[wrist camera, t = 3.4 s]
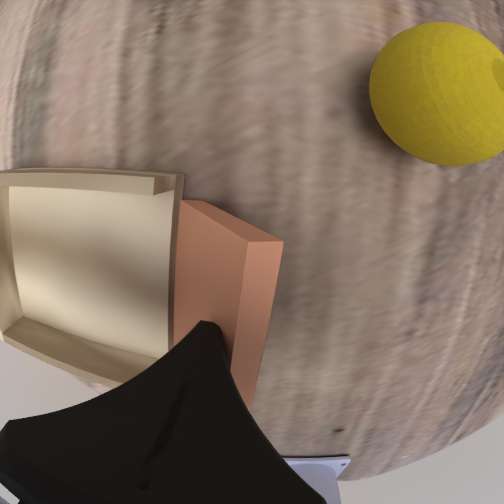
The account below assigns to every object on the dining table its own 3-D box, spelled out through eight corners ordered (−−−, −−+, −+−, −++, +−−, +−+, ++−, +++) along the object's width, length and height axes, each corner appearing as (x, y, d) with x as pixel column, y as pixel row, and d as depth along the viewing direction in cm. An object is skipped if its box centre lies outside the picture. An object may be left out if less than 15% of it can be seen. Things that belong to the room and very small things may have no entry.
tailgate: (173, 356, 14) (220, 446, 9) (180, 199, 11) (248, 241, 6) (191, 353, 14) (243, 439, 9) (202, 200, 12) (284, 241, 7)
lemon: (401, 186, 12) (523, 217, 5) (322, 104, 11) (400, 32, 4) (454, 120, 11) (566, 110, 3) (386, 42, 10) (473, -28, 2)
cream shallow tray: (175, 353, 15) (155, 400, 12) (32, 311, 15) (-1, 338, 11) (185, 173, 12) (154, 177, 9) (20, 168, 12) (-26, 174, 8)
